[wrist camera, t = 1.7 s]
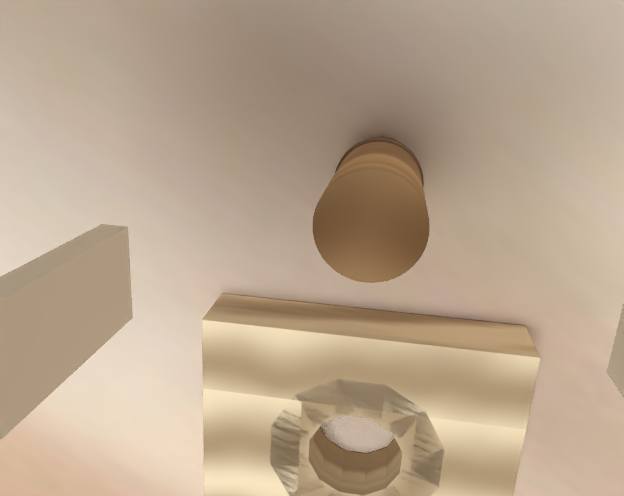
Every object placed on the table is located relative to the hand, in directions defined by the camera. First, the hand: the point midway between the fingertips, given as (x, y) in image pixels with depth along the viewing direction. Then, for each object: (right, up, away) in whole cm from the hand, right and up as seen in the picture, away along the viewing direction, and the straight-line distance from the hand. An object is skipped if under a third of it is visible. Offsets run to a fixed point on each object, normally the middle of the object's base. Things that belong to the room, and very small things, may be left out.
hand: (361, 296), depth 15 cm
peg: (+3, +6, +18) cm, 19 cm away
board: (+2, -10, +23) cm, 25 cm away
